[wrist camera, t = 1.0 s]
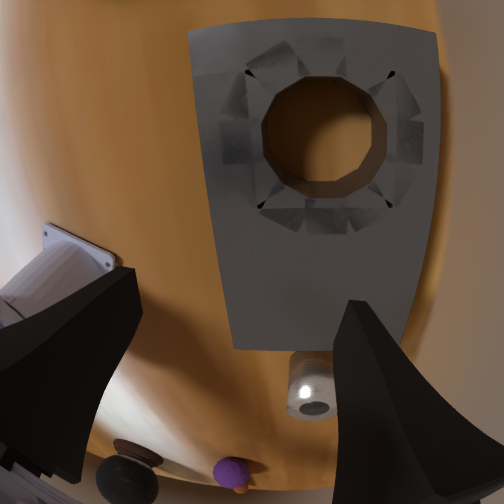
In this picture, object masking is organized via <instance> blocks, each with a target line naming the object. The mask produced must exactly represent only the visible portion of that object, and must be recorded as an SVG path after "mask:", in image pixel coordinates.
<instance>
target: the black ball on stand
mask: <svg viewBox="0 0 504 504" xmlns="http://www.w3.org/2000/svg"><path fill="white" fill-rule="evenodd" d="M113 444H114V448H115V450H116V451H117V452H118V455H113V456H110V457H108V458H106V459H105V460H104V461H102V463H100V465H99V466H98V468H97V471H96V484H97V487H98V489H99V491H100V493H101V494H102V496H103V497H104V498H105V499H106V500H107V501H108V502H110V503H111V504H152V503H153V502H154V500H155V499H156V497H157V495H158V490H159V485H158V484H159V483H158V480H157V477H156V475H155V473H154V471H153V470H152V469H151V468H153V467H158V466H159V465H161V464H162V463H163V458H162V457H161V456H159V455H158V454H156V453H155V452H153V451H151V450H149V449H147V448H145V447H143V446H141V445H138V444H136V443H133V442H130V441H127V440H123V439H115V440H114V442H113Z"/></svg>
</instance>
